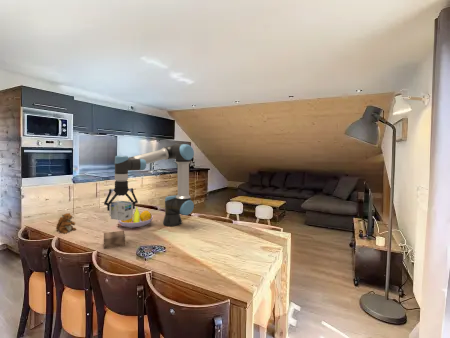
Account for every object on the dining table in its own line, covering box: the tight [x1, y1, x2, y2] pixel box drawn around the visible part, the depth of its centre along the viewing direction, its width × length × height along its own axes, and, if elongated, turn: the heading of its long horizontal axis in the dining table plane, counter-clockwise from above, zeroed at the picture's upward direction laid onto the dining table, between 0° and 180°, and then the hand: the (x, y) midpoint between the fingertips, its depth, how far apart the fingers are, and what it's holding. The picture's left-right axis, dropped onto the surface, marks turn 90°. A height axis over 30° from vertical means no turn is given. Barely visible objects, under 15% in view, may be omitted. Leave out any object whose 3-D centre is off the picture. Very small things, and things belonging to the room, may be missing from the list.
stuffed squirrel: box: [55, 212, 77, 235], centre depth 177 cm, size 10×14×13 cm
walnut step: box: [103, 230, 126, 250], centre depth 155 cm, size 12×12×6 cm
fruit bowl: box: [117, 206, 154, 229], centre depth 194 cm, size 28×27×11 cm
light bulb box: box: [110, 200, 133, 221], centre depth 151 cm, size 11×7×11 cm, turn 74°
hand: (121, 215), depth 151 cm, fingers closed on light bulb box, 12 cm apart
